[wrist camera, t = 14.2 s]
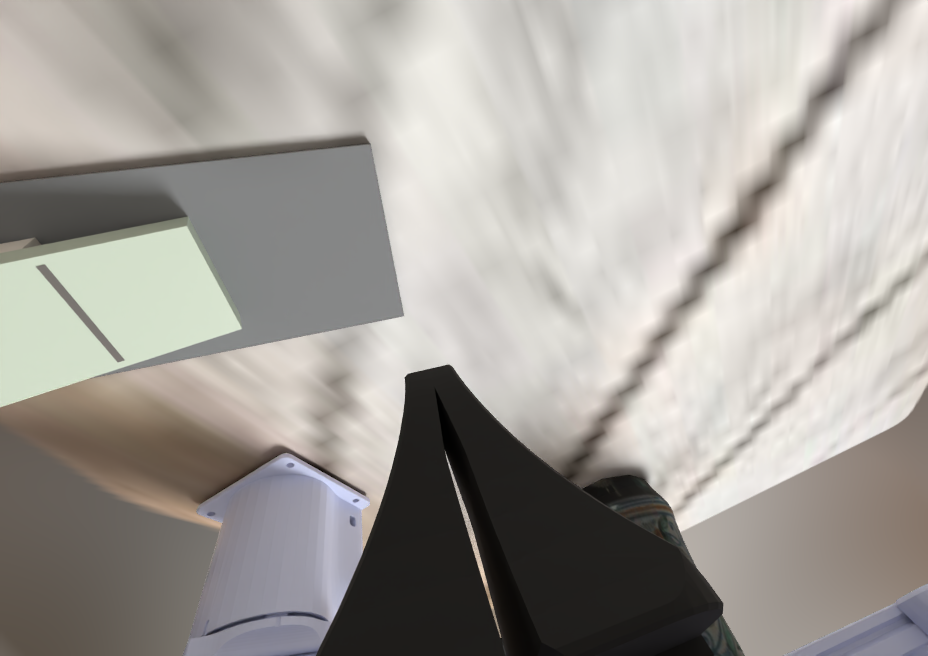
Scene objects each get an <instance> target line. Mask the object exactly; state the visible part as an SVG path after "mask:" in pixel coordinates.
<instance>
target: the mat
mask: <svg viewBox="0 0 928 656" xmlns="http://www.w3.org/2000/svg"><path fill="white" fill-rule="evenodd" d="M187 216H188V217H189V219H190V221H191V223H192V225H193V227H194V229H195V231H196V233H197V234H198V236H199V238H200V240H201V242H202V244H203V246H204V248H205V250H206V251H207V253H208V255H209V257H210V259H211V261H212V263H213V265H214V267H215V269H216V270H217V272H218V274H219V276H220V278H221V280H222V282H223V284H224V286H225V287H226V289H227V291H228V293H229V295H230V297H231V299H232V301H233V303H234V304H235V306H236V308H237V310H238V312H239V314H240V319H241V325H242V329H240V330H237V331H234V332H231V333H228V334H225V335H222V336H218V337H215V338H212V339H209V340H206V341H203V342H200V343H197V344H194V345H191V346H188V347H185V348H181V349H178V350H175V351H172V352H169V353H166V354H163V355H160V356H157V357H154V358H151V359H148V360H145V361H141V362H138V363H135V364H132V365H129V366H126V367H123V368H120V369H117V370H114V371H111V372H108V373H105V374H101V375H98V376H95V377H100V376H105V375H110V374H115V373H120V372H125V371H130V370H135V369H140V368H145V367H150V366H155V365H160V364H165V363H170V362H175V361H180V360H185V359H190V358H195V357H200V356H206V355H211V354H216V353H221V352H226V351H231V350H236V349H241V348H246V347H251V346H256V345H261V344H266V343H271V342H276V341H281V340H286V339H291V338H296V337H301V336H306V335H311V334H316V333H321V332H327V331H332V330H337V329H342V328H347V327H352V326H357V325H362V324H367V323H372V322H377V321H382V320H387V319H392V318H397V317H402V316H404V313H403V308H402V303H401V298H400V293H399V287H398V282H397V277H396V272H395V267H394V262H393V257H392V252H391V246H390V241H389V236H388V231H387V226H386V221H385V216H384V211H383V205H382V200H381V195H380V190H379V185H378V180H377V175H376V170H375V164H374V159H373V154H372V149H371V144H370V143H368V144H359V145H349V146H340V147H330V148H321V149H311V150H302V151H293V152H283V153H274V154H264V155H255V156H245V157H236V158H227V159H217V160H208V161H198V162H189V163H179V164H170V165H160V166H151V167H142V168H132V169H123V170H113V171H104V172H94V173H85V174H76V175H66V176H57V177H47V178H38V179H28V180H19V181H9V182H0V244H3V243H8V242H13V241H19V240H24V239H30V238H36V239H37V240H38V241H39V243H40V244H41V245H44V244H50V243H55V242H60V241H65V240H70V239H75V238H80V237H85V236H90V235H96V234H101V233H106V232H111V231H116V230H121V229H126V228H131V227H136V226H142V225H147V224H152V223H157V222H162V221H167V220H172V219H177V218H182V217H187ZM95 377H92V378H95ZM89 379H90V378H89Z"/></svg>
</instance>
